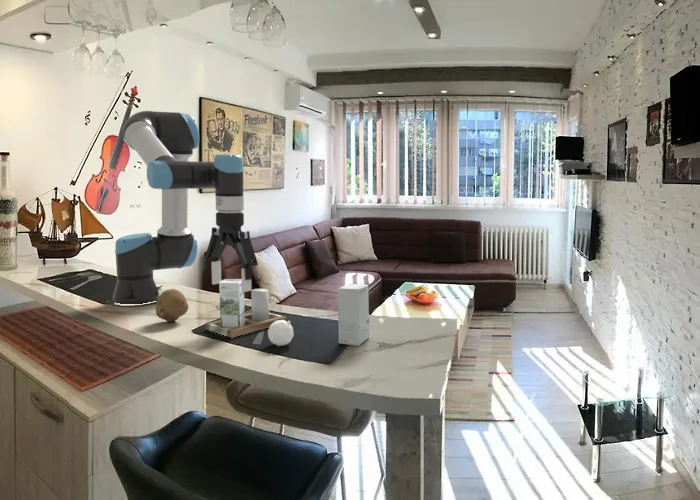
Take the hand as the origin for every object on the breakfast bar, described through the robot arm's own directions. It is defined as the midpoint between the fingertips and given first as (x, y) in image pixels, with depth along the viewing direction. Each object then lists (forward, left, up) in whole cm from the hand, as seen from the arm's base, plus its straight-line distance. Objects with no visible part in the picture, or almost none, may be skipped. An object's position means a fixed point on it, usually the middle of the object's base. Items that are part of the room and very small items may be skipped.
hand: (231, 287), depth 154 cm
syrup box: (0, 0, -13) cm, 13 cm away
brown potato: (-21, -6, -13) cm, 25 cm away
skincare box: (+32, +15, -13) cm, 38 cm away
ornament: (+20, 0, -13) cm, 24 cm away
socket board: (0, +5, -12) cm, 13 cm away
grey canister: (0, +10, -12) cm, 16 cm away
